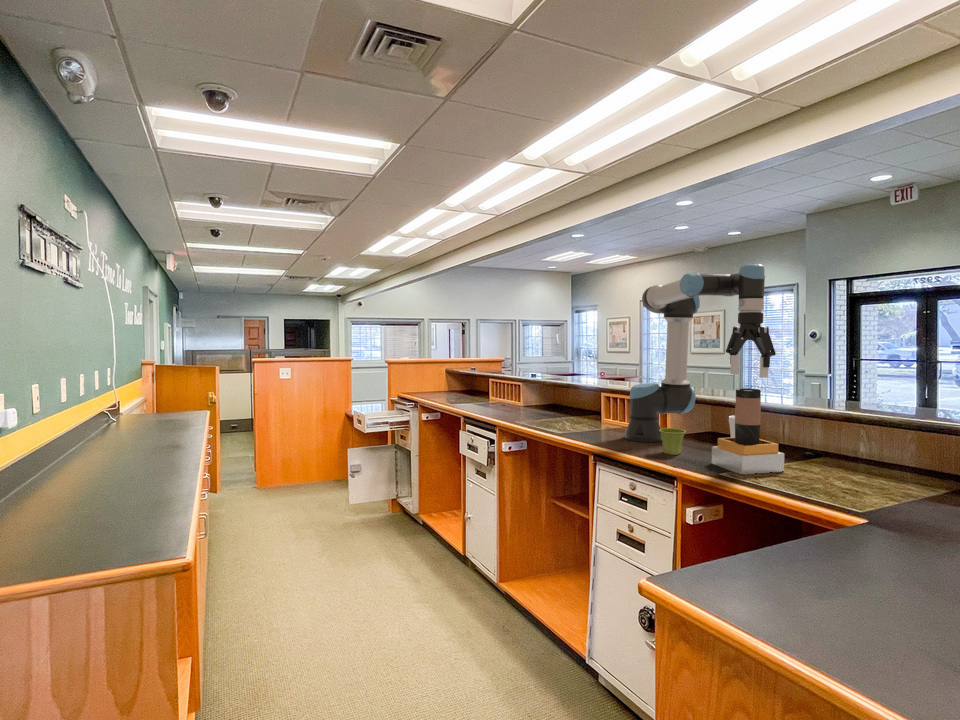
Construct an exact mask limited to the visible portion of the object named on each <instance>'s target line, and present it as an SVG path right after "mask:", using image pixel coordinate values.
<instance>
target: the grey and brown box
mask: <svg viewBox="0 0 960 720" xmlns="http://www.w3.org/2000/svg"><path fill="white" fill-rule="evenodd" d="M710 463H711V464H712V465H714V466H716V467H717V466H718V467H720V468H722V469H725V470H728V471H729V472H730V471H731V472H734V473H736V474H738V475H741V474H745V475H754V474H755V473H758V474H771V473H770V472H772V473H782V471H784V472H785V453H784V452H780V451H779V443H776V442H772V441H768V440H765V439H759V444H757V445H743V444H739V443H736V442H735V437H731V436H730V437H718V438H717V445H715V446H713V445H712V446H711V462H710Z"/></svg>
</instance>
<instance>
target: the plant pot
mask: <svg viewBox="0 0 960 720" xmlns="http://www.w3.org/2000/svg"><path fill="white" fill-rule="evenodd" d="M659 431H660V433H661V436H662V440H661V443H662V451H663V452H662V453H664V454H666V455H672V456H677V455H681V452H682V446H683V441H684V437H685V433H687V431H686V430H685V429H682V428H681V429H680V428H672V427H671V428H670V427H669V428H668V427H665V428H664V427H663V428H661V429H660V430H659Z"/></svg>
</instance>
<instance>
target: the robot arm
mask: <svg viewBox="0 0 960 720" xmlns="http://www.w3.org/2000/svg"><path fill="white" fill-rule="evenodd" d="M765 279H766V275H765V266H764V265H763V264H759V263H757V264H753V263H752V264H743V265H741V266H740V267H739V270H738V272H737V273H701V272H699V273H698V272H691V273H685V274H683V275H682V277H681V278H680V279H678V280H675V281H671V282H669V283H666V284H663V285H660V284H655V285H652V286H650V287H647V288H646V289H645V290H644V292H643V294H642V297H641V301H642V304H643V306H644V307H645V309H646V310H647V311H649V312H651V313H654V314H663V319H664V320H665V321H666V322H667V324H666V350H665V351H666V353H665V371H664V372H665V374H664V375H665V376H664V378H663V380H661V382H660V383H661V385H659V383H657V382H649V383H647V382H646V383H639V384H635V385H633V386H631V387H630V390H629V391H630V392H629V422H628V424H627V427H626V430H625V434H624V435H625V436H624V437H625V439H626V440H629V441H632V442H642V443H655V442H656V443H657V442H662V436H661V433H660V431H659V430H660V429H662V428H661V426H660V423H659V415H664V414H665V415H666V414H667V415H669V414H676V415H680V414H687V413H689V412H691V410H692V409H693V408H694V407H695V403H696V398H697V396H696V392H695V391H696V390H695V389H694V387H692V386H691V382H690V381H689V379H688V378H687V377H688V376H687V375H688V354H689V330H690V322H691V321H692V320H693V319H694V315H696V314H697V313H698V312H699V309H700V305H701V302H700V301H701V300H700V296H722V297H734V296H738V308H737V309H738V311H739V312H738V314H737V323H738V324H740V325H739V326H738V325H737V326H733V327H732V333H731V336H730V338H729V341H728V343H727V347H726V350H725V353H726V354H729V357H730V359H729V360H730V375H739V374H740V354H739V353H740V351H741V350H742V347H743V346H744V344H745V343H746V342H747V341H752V342H753V343H754V344H755V346H756V348H757V350H758V352H759V353H760V357H759V378H761V379H763V378H764V379H765V378H768V379H769V368H770V367H771V365H770V364H771V357H773V356H774V357H775V356H776V355H777V354H776V350H775V347H774V344H773V342H772V339H771V335H770V330H769V329H770V328H769V326H764V325H763V326H761V325H762V324H763V323H764V313H763V312H762V311H764V310H765V308H764V307H765V305H764V303H765V297H764V296H765Z"/></svg>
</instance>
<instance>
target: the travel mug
mask: <svg viewBox="0 0 960 720" xmlns="http://www.w3.org/2000/svg"><path fill="white" fill-rule="evenodd" d="M761 394H762V392H761V389H759V388H758V389H757V388H740V389H737V388H736V389H735V405H734V408H735V413H734V415H735V442H736V443H739V444H743V445H757V444H759V439H760V436H761V435H760V434H761V412H762V411H761V410H762V408H761V398H762V395H761Z"/></svg>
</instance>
